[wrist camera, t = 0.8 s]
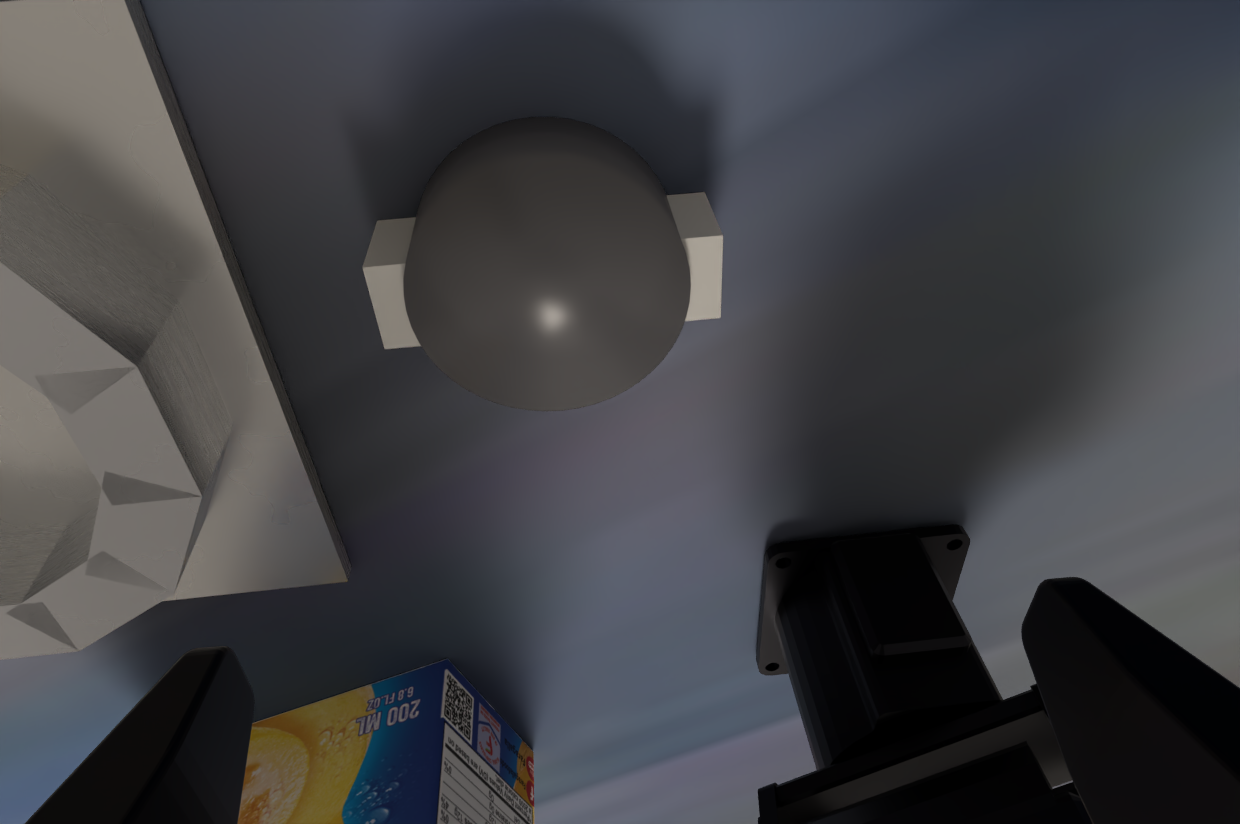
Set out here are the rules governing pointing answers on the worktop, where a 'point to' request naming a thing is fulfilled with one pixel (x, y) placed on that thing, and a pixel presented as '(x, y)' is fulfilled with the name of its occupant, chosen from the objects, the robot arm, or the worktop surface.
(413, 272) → the cap
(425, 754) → the beverage box
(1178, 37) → the worktop surface
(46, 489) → the grey faceted ring
